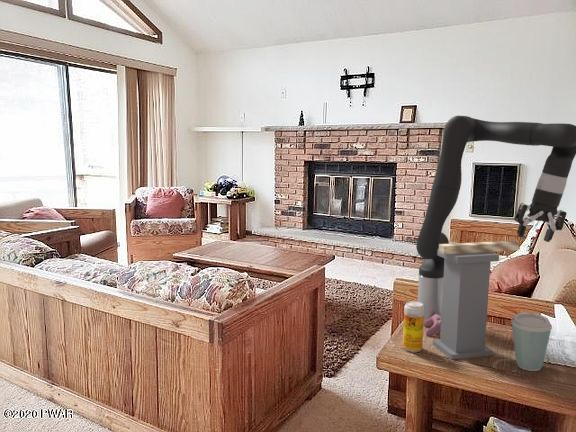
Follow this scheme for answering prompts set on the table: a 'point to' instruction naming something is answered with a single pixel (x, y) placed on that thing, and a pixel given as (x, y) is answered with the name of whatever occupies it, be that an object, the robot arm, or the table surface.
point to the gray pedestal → (465, 304)
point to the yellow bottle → (413, 326)
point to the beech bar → (478, 247)
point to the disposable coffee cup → (530, 339)
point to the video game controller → (436, 323)
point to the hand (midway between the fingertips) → (533, 238)
